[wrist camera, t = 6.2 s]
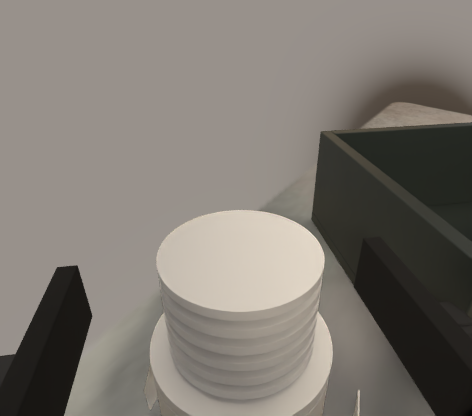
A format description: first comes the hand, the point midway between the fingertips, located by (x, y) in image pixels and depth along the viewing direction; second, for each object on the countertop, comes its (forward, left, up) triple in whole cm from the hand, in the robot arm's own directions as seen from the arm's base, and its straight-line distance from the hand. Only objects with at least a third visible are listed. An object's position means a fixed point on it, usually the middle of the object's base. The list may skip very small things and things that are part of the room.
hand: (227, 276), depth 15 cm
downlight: (+2, -3, -6) cm, 7 cm away
